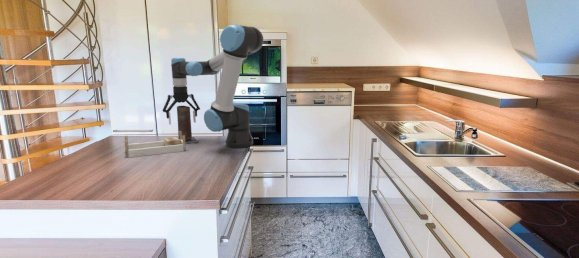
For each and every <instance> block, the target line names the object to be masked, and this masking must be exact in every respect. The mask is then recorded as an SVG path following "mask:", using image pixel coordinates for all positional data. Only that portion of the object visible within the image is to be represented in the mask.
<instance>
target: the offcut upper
mask: <svg viewBox="0 0 579 258" xmlns="http://www.w3.org/2000/svg"><path fill="white" fill-rule="evenodd" d="M178 138H179V137H176V136H173V137H166V138H165V137H164V139H163V141H164V143H165V145H166V146H170V145H180V141H179V139H178Z"/></svg>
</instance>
